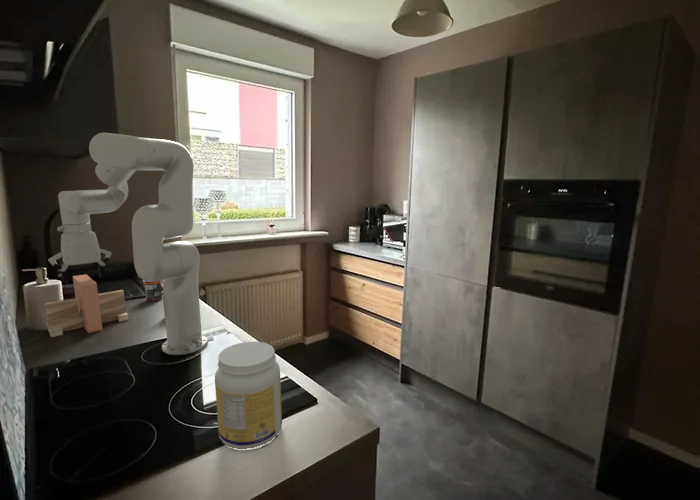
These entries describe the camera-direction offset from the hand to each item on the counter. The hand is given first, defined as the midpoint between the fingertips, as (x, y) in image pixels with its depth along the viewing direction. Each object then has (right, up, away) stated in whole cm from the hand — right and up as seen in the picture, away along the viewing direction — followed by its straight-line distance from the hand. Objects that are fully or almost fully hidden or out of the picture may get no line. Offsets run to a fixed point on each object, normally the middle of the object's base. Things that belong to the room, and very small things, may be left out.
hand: (84, 279), depth 127 cm
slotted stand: (0, -16, +3) cm, 16 cm away
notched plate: (0, -16, +3) cm, 16 cm away
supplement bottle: (+8, -11, +30) cm, 33 cm away
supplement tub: (+69, -26, -52) cm, 91 cm away
